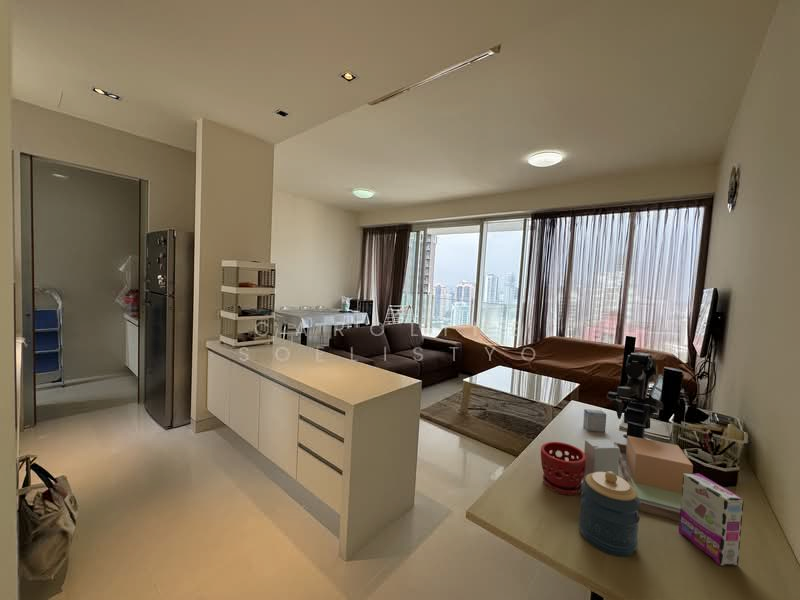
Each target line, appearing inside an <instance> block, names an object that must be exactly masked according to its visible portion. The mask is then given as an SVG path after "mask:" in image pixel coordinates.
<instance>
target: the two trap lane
mask: <svg viewBox="0 0 800 600" xmlns="http://www.w3.org/2000/svg"><path fill="white" fill-rule="evenodd" d="M613 444H615V445H616V446H617V447H618V448H620V451H619V467H620V468H619V469H620V470H621V474H622V476H623V479H624V480H626V481H627V482H628V483H629V484H630V485H632V486H633V487H634V488H635V490H636V491H637V498H638V499H639V501H640V503H641V507H640V509H639V510H638V511H640V512H642V513H643V512H644V513H648V514H650V515H655V516H658V517H662V518H665V519H669V520H673V521H676V522H679V521H680V509H681V496H682V494H680V493H676V492H672V491H668V490H664V489H660V488H655V487H651V486H647V485H643V484H639V483H635V482H633V479H632V477H631V475H630V472H629V469H628V467H627V464H626V448H627V444H624V443H619V442H613Z"/></svg>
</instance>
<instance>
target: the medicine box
mask: <svg viewBox="0 0 800 600" xmlns="http://www.w3.org/2000/svg"><path fill="white" fill-rule="evenodd" d="M583 410H584V412H583V424H582V426H583V428H584V430H586V431H588V432H589V431H590V432H602V433H606V426H607V425H606V423H607V413H606V412H605V411H603V410H601V409H590V408H589V409H586V408H585V409H583Z"/></svg>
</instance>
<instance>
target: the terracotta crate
mask: <svg viewBox="0 0 800 600" xmlns="http://www.w3.org/2000/svg"><path fill="white" fill-rule="evenodd" d="M626 445H627V448H626V460H625V465H626V467H627V470H628V473H629V475H630V477H632V479H633V482H635V483H639V484H643V485H647V486H651V487H655V488H660V489H664V490H668V491H672V492H676V493H680V494H682V484H683V474H692V473H693V469H694V465H693V463H692V462H691V461H690V459H689V458H688V457H687V455H686V454H685V453H684V452H683V450H682V449H681V447H680V446H679V445H677V444H674V443H669V442H668V443H667V442H662V441H657V440H654V439H648V438H645V439H642V438H637V437H632V436H627V437H626Z"/></svg>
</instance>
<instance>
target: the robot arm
mask: <svg viewBox="0 0 800 600" xmlns="http://www.w3.org/2000/svg"><path fill="white" fill-rule="evenodd" d="M625 366H626V367H625V368H624V371H625V374H626V376H627V382H625V383H624V386H617V389H616V390H617V391H616V392H615V391H614V392H613V391H608V392H607V394H606V398H607V399H609V401H611V402H612V403H613V405H614V408H615V411H616V414H617V419H618V420H622V419H621V418H622V416H623V424H627V428H626V434H623V435H622V436H623V437H624V438H627V436H632V437H637V438H642V439H646V437H645V431H646V430H648V429H651V417H652V416H653V415H654V414H655V413H657V412H659V411H660V410H664V403H663V402H662V401H661V400H659V399H657V398H653V397H647V395H648V390H649V385H650V383H651V382H652V381H654V380H655V377H656V376H657V375H658V363H657V362H656V360H655V359H654V358H653V354H650V353H644V352H639V353H635V352H631V353H630V354H628V355H627V358H626V362H625ZM624 402H628V404H627V407H626V409H624V407H625V403H624ZM623 411H624V412H623Z"/></svg>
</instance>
